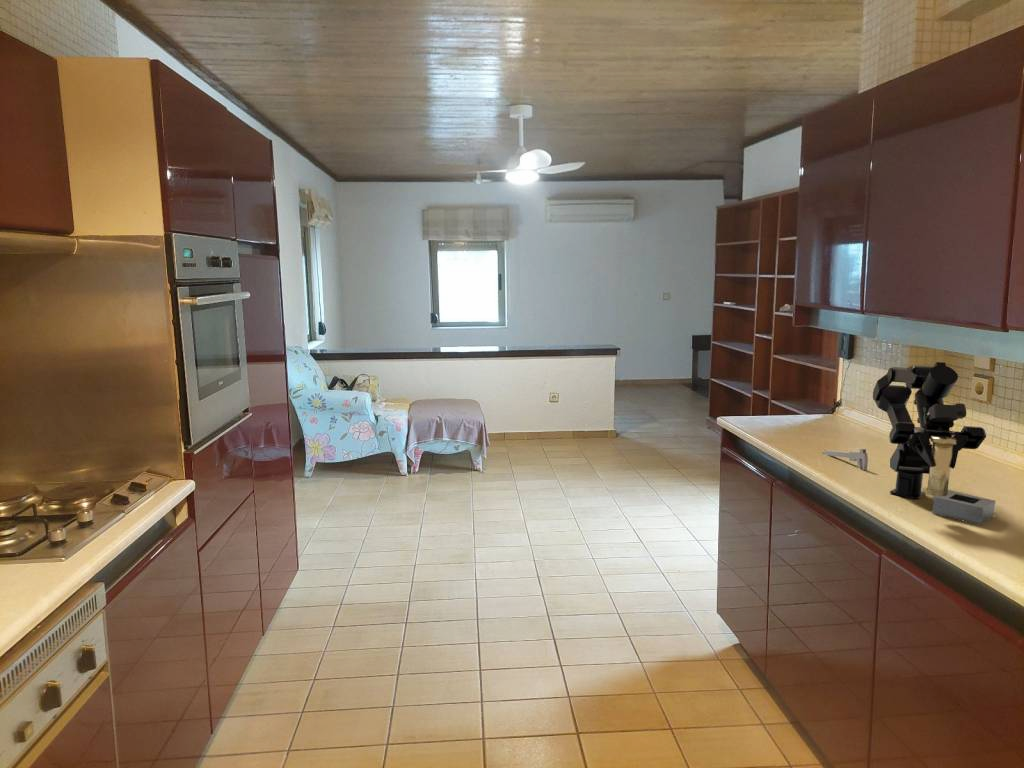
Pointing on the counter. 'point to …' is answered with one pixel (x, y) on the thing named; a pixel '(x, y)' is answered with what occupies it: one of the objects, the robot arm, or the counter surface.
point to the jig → (964, 507)
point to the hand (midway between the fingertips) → (942, 466)
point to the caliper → (852, 457)
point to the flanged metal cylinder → (940, 465)
